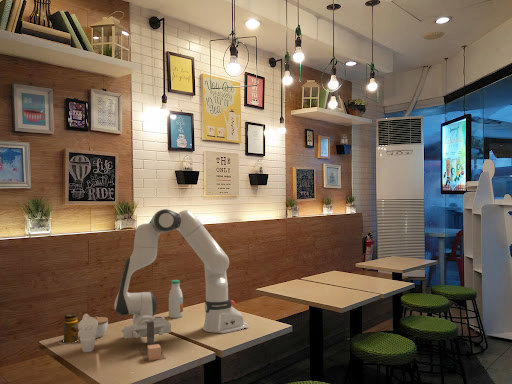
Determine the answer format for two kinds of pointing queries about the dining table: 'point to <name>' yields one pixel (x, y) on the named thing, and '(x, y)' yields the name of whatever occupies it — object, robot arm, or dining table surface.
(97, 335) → the lidded jar
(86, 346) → the soft serve ice cream cone
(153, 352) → the terracotta block
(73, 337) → the condiment
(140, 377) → the dining table surface
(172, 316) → the milk bottle
